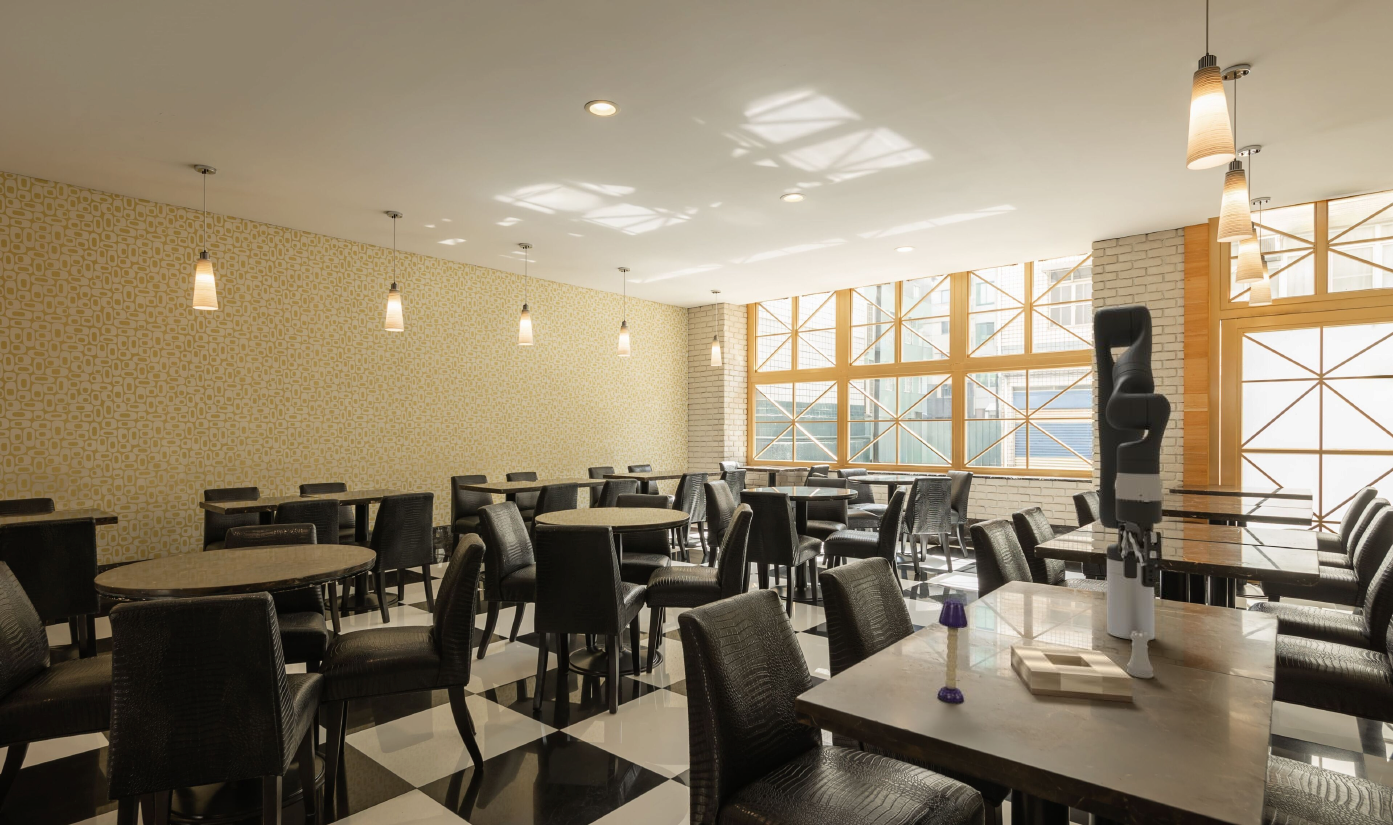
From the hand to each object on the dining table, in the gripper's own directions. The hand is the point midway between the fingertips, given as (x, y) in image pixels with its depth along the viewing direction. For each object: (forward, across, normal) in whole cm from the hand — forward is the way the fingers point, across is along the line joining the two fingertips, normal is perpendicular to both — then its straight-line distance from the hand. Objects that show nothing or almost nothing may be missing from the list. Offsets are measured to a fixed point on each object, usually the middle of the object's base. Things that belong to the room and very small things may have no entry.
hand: (1139, 582), depth 136 cm
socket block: (+18, +8, -15) cm, 24 cm away
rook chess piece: (+18, 0, 0) cm, 18 cm away
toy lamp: (+18, +22, -37) cm, 46 cm away
